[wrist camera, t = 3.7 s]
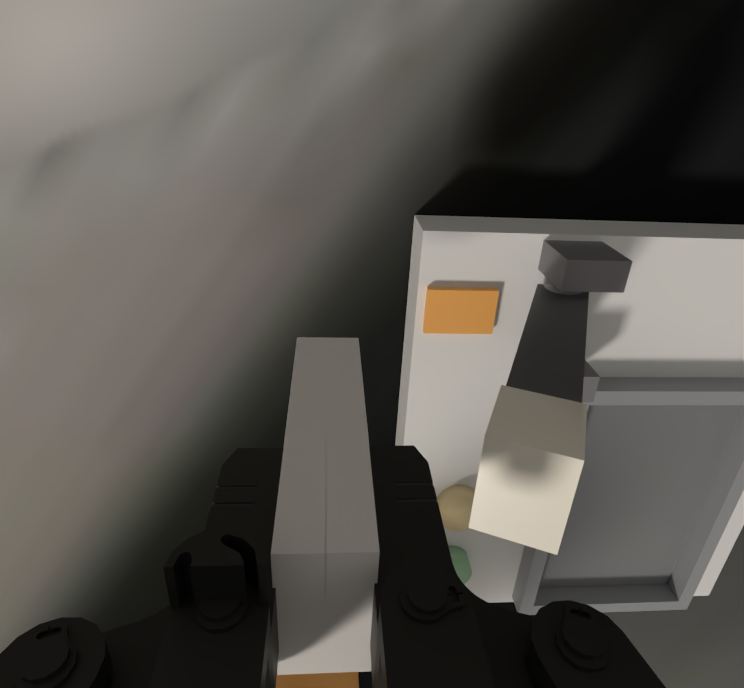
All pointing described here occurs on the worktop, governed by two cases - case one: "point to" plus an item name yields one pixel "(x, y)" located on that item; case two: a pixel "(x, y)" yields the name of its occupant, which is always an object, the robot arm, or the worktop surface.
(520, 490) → the breaker lever
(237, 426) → the worktop surface
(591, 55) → the worktop surface
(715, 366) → the panel
